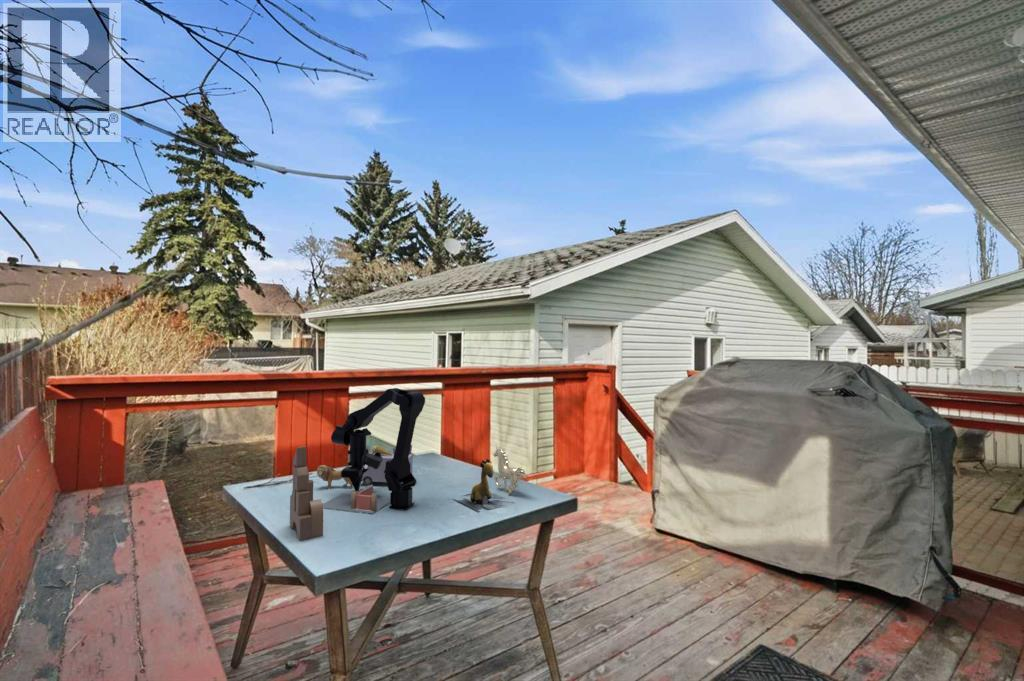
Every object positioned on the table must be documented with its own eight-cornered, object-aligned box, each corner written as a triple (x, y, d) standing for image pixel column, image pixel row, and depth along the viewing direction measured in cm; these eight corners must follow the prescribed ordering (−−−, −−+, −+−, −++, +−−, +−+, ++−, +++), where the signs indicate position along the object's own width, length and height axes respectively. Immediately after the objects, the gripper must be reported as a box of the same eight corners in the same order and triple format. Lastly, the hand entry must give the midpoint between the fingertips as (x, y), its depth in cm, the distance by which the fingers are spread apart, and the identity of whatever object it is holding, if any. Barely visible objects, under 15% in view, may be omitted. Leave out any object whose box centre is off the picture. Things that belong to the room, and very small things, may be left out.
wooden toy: (324, 536, 142) (325, 449, 142) (299, 541, 138) (300, 452, 138) (311, 519, 155) (312, 440, 154) (288, 523, 151) (289, 442, 151)
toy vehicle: (365, 479, 198) (366, 442, 198) (413, 481, 198) (414, 443, 198) (357, 486, 189) (358, 447, 189) (408, 488, 188) (408, 448, 188)
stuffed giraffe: (478, 513, 163) (479, 464, 163) (450, 500, 177) (451, 455, 178) (516, 505, 172) (517, 459, 173) (486, 493, 187) (487, 451, 187)
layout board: (395, 499, 174) (395, 498, 174) (372, 514, 160) (372, 513, 160) (342, 494, 180) (342, 493, 180) (316, 507, 165) (316, 506, 165)
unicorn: (529, 499, 177) (530, 451, 177) (521, 501, 175) (521, 452, 175) (497, 485, 193) (498, 441, 193) (489, 487, 191) (489, 443, 191)
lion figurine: (316, 491, 183) (316, 467, 183) (317, 487, 188) (317, 463, 188) (357, 488, 187) (357, 464, 187) (357, 484, 192) (357, 461, 192)
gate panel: (357, 505, 165) (357, 493, 165) (354, 505, 166) (354, 493, 166) (372, 496, 175) (372, 484, 175) (369, 496, 175) (369, 484, 175)
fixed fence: (377, 510, 163) (377, 493, 163) (374, 512, 161) (374, 495, 161) (352, 507, 165) (353, 491, 165) (349, 509, 164) (350, 492, 164)
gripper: (373, 453, 167) (372, 499, 167) (386, 441, 186) (386, 483, 186) (340, 453, 167) (339, 498, 167) (357, 441, 185) (356, 482, 186)
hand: (357, 490), depth 176 cm, fingers closed
